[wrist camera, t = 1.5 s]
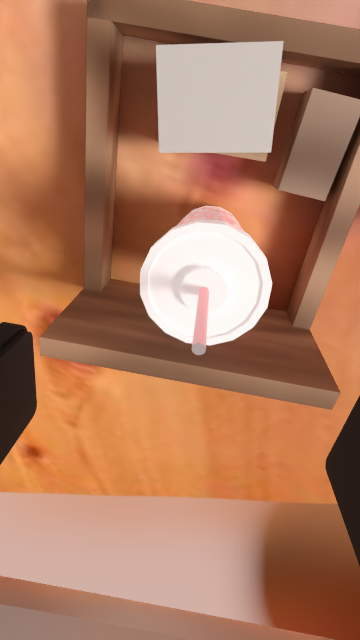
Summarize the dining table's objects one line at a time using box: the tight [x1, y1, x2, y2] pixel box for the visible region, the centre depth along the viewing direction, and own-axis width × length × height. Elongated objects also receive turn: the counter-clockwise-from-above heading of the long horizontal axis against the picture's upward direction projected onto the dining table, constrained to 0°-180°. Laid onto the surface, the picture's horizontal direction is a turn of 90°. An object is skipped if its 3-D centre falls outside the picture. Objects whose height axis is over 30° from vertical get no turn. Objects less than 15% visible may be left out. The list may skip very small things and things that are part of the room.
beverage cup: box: [140, 206, 272, 355], centre depth 17 cm, size 6×6×14 cm
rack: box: [39, 0, 360, 410], centre depth 18 cm, size 17×16×9 cm
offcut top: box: [156, 41, 284, 153], centre depth 16 cm, size 4×5×3 cm
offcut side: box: [273, 88, 360, 201], centre depth 19 cm, size 5×3×2 cm, turn 168°
